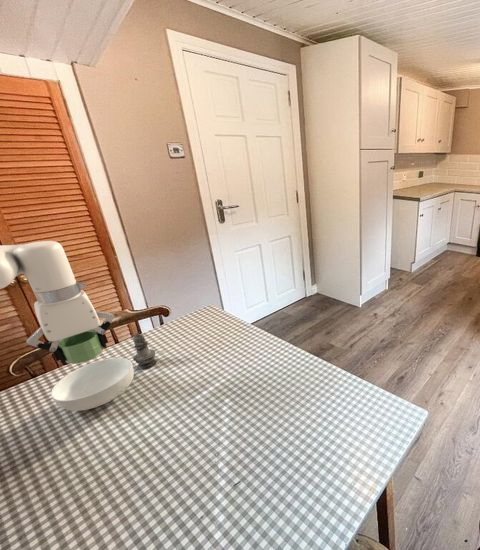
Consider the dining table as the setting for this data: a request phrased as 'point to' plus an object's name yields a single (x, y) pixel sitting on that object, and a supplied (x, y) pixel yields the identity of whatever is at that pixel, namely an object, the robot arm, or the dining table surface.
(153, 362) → the grey tall carved piece
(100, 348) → the green bowl
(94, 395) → the cereal bowl
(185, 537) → the dining table surface
